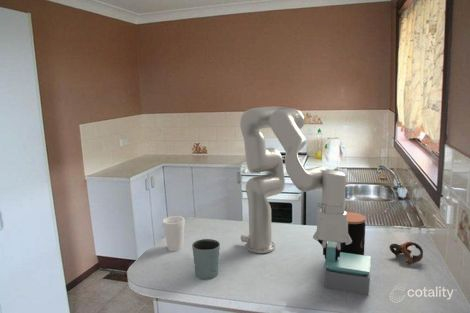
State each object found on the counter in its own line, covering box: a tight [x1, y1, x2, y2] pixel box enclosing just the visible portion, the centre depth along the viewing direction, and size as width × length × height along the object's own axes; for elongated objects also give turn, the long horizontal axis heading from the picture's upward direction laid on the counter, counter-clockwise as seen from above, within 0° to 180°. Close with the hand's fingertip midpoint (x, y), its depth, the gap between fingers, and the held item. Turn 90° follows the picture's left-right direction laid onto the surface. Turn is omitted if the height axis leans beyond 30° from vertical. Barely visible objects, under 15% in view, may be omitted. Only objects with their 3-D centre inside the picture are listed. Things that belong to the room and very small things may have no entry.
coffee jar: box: [340, 211, 367, 256], centre depth 148 cm, size 11×11×18 cm
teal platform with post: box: [323, 241, 372, 276], centre depth 129 cm, size 14×11×8 cm
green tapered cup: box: [191, 238, 221, 281], centre depth 141 cm, size 10×10×12 cm
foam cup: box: [162, 215, 186, 252], centre depth 164 cm, size 10×9×13 cm
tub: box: [324, 262, 372, 296], centre depth 130 cm, size 14×11×7 cm
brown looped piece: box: [389, 241, 424, 266], centre depth 148 cm, size 12×10×8 cm
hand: (331, 257), depth 131 cm, fingers closed on teal platform with post, 3 cm apart
